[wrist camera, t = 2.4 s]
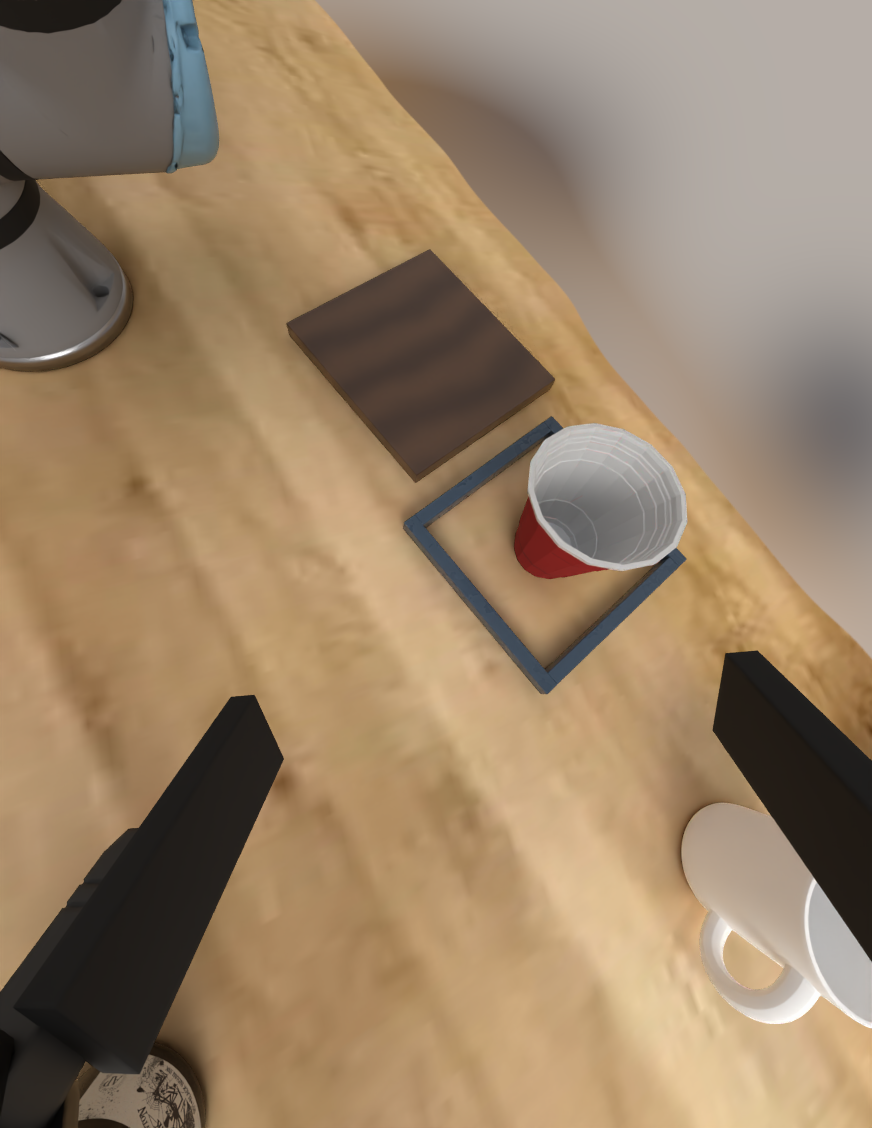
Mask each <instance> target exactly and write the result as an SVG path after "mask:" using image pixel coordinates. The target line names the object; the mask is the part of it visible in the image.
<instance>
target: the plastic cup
mask: <svg viewBox="0 0 872 1128" xmlns="http://www.w3.org/2000/svg"><path fill="white" fill-rule="evenodd" d="M527 493H528V499H527V502H526V504H525V507H524V510H523V513H522V515H521V518H520V522H519V527H518V529H517V532H516V535H515V543H514V549H515V553H516V557H517V560H518V561H519V563H520V564H521V565H522V567H523V568H524V569H525V570H526V571H528V572H529V573H531V574H532V575H534V576H537V577H542V578H546V579H553V578H558V577H568V576H573V575H578V574H583V573H588V572H592V571H601V570H608V569H612V570H617V571H624V570H629V569H634V568H639V567H644V566H649V565H654V564H656V563H657V562H658V561H660V560H661V559H662V558H664V557H665V556H666V555H667V554H669V553H670V552H671V551H672V550H674V549H675V548H676V547H677V545H678V543H679V541H680V538H681V536H682V534H683V531H684V529H685V526H686V524H687V510H686V494H685V492H684V490H683V488H682V486H681V484H680V481H679V479H678V477H677V475H676V473H675V471H674V469H673V467H672V466H671V465H670V464H669V463H668V462H667V461H666V460H665V459H664V458H663V457H662V455H661V454H660V453H659V452H658V451H657V450H656V449H655V448H654V447H653V446H652V445H651V444H649V443H647V442H645V441H644V440H642V439H640V438H638V437H637V436H635V435H633V434H631V433H629V432H628V431H626V430H624V429H620V428H615V427H610V426H606V425H601V424H597V423H592V424H584V425H576V426H568V427H566V428H564V429H562V430H561V431H559V432H557V433H555V434H554V435H552V436H550V437H549V438H547V439H545V440H544V441H543V443H542V445H541V446H540V448H539V449H538V451H537V452H536V454H535V455H534V457H533V458H532V460H531V462H530V472H529V482H528V492H527Z"/></svg>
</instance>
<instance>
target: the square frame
mask: <svg viewBox="0 0 872 1128" xmlns="http://www.w3.org/2000/svg"><path fill="white" fill-rule="evenodd" d="M562 429H563V427H562V426H561V425H560V424H559V423H558V422H557V421H556V420H555V419H554V418H553V417H552V416H551V417H550V418H548V419H547V420H545V421H544V422H543V423H541V424H540V425H538V426H537V427H536V428H534V429H533V430H531V431H530V432H529V433H527V434H526V435H525V436H523V437H522V438H520V439H519V440H518V441H516V442H515V443H513V444H512V445H511V446H509V447H508V448H506V449H505V450H504V451H502V452H501V453H500V454H498V455H497V456H495V457H494V458H493V459H491V460H490V461H488V462H487V463H486V464H484V465H483V466H482V467H480V468H479V469H477V470H476V471H475V472H473V473H472V474H470V475H469V476H468V477H466V478H465V479H463V480H462V481H461V482H459V483H458V484H457V485H455V486H454V487H452V488H451V489H450V490H448V491H447V492H445V493H444V494H443V495H441V496H440V497H439V498H437V499H436V500H434V501H433V502H432V503H430V504H429V505H427V506H426V507H425V508H423V509H422V510H421V511H419V512H418V513H416V514H415V515H414V516H412V517H411V518H409V519H408V520H407V521H405V522H404V526H403V529H404V530H405V531H406V532H407V534H408V535H409V536H410V537H411V538H412V540H413V541H414V542H415V543H416V545H417V546H418V547H419V548H420V549H421V551H422V552H423V553H424V554H425V555H426V557H427V558H428V559H429V560H430V561H431V563H432V564H433V565H434V566H435V567H436V569H437V570H438V571H439V572H440V573H441V575H442V576H443V577H444V578H445V579H446V581H447V582H448V583H449V584H450V585H451V587H452V588H453V589H454V590H455V591H456V593H457V594H458V595H459V596H460V597H461V599H462V600H463V601H464V602H465V603H466V605H467V606H468V607H469V608H470V609H471V611H472V612H473V613H474V614H475V615H476V617H477V618H478V619H479V620H480V621H481V623H482V624H483V625H484V626H485V627H486V629H487V630H488V631H489V632H490V633H491V635H492V636H493V637H494V638H495V639H496V641H497V642H498V643H499V644H500V646H501V647H502V648H503V649H504V650H505V652H506V653H507V654H508V655H509V656H510V658H511V659H512V660H513V661H514V662H515V664H516V665H517V666H518V667H519V668H520V670H521V671H522V672H523V673H524V674H525V676H526V677H527V678H528V679H529V680H530V682H531V683H532V684H533V685H534V686H535V688H536V689H537V690H538V691H539V692H540V693H541V694H548V693H549V692H550V691H551V690H552V689H553V688H554V687H555V686H556V685H557V684H558V683H559V682H560V681H561V680H562V679H563V678H564V677H565V676H567V675H568V674H569V673H570V672H571V671H572V670H573V669H574V668H575V667H576V666H577V665H578V664H579V663H580V662H581V661H582V660H583V659H584V658H585V657H586V656H587V655H588V654H589V653H590V652H591V651H592V650H593V649H594V648H595V647H596V646H598V645H599V644H600V643H601V642H602V641H603V640H604V639H605V638H606V637H607V636H608V635H609V634H610V633H611V632H612V631H613V630H614V629H615V628H616V627H617V626H618V625H619V624H620V623H621V622H622V621H623V620H624V619H625V618H626V617H628V616H629V615H630V614H631V613H632V612H633V611H634V610H635V609H636V608H637V607H638V606H639V605H640V604H641V603H642V602H643V601H644V600H645V599H646V598H647V597H648V596H649V595H650V594H651V593H652V592H653V591H654V590H655V589H656V588H658V587H659V586H660V585H661V584H662V583H663V582H664V581H665V580H666V579H667V578H668V577H669V576H670V575H671V574H672V573H673V572H674V571H675V570H676V569H677V568H678V567H679V566H680V565H681V564H682V563H683V562H684V561H685V560H686V558H685V557H684V556H683V554H682V553H681V552H680V551H679V550H678V549H677V548H675V549H674V550H672V551H671V552H670V553H669V554H667V555H666V556H665V557H664V558H662V559H661V560H660V561H659V562H658V563H657V564H656V565H655V566H654V567H653V568H652V569H651V570H650V571H649V572H648V573H647V574H646V575H645V576H643V577H642V578H641V579H640V580H639V581H638V582H637V583H636V584H635V585H634V586H633V587H632V588H631V589H630V590H629V591H628V592H627V593H625V594H624V595H623V596H622V597H621V598H620V599H619V600H618V601H617V602H616V603H615V604H614V605H613V606H612V607H611V608H610V609H608V610H607V611H606V612H605V613H604V614H603V615H602V616H601V617H600V618H599V619H598V620H597V621H596V622H595V623H594V624H593V625H592V626H590V627H589V628H588V629H587V630H586V631H585V632H584V633H583V634H582V635H581V636H580V637H579V638H578V639H577V640H576V641H575V642H573V643H572V644H571V645H570V646H569V647H568V648H567V649H566V650H565V651H564V652H563V653H562V654H561V655H560V656H559V657H558V658H557V659H555V660H554V661H553V662H552V663H551V664H550V665H549V666H548V667H547V668H546V669H544V668H543V667H542V666H541V665H540V663H539V662H538V661H537V660H536V659H535V657H534V656H533V655H532V654H531V653H530V652H529V650H528V649H527V648H526V647H525V646H524V644H523V643H522V642H521V641H520V640H519V638H518V637H517V636H516V635H515V634H514V633H513V631H512V630H511V629H510V628H509V627H508V625H507V624H506V623H505V622H504V621H503V619H502V618H501V617H500V616H499V615H498V613H497V612H496V611H495V610H494V609H493V608H492V606H491V605H490V604H489V603H488V602H487V600H486V599H485V598H484V597H483V596H482V594H481V593H480V592H479V591H478V590H477V589H476V587H475V586H474V585H473V584H472V583H471V581H470V580H469V579H468V578H467V577H466V575H465V574H464V573H463V572H462V571H461V570H460V568H459V567H458V566H457V565H456V564H455V562H454V561H453V560H452V559H451V558H450V556H449V555H448V554H447V553H446V552H445V551H444V549H443V548H442V547H441V546H440V545H439V543H438V542H437V541H436V540H435V539H434V537H433V536H432V535H431V534H430V533H429V532H428V530H427V529H426V527H428V526H429V525H430V524H432V523H433V522H434V521H436V520H437V519H438V518H440V517H441V516H442V515H444V514H445V513H446V512H448V511H449V510H451V509H452V508H453V507H455V506H456V505H457V504H459V503H460V502H461V501H463V500H464V499H465V498H467V497H468V496H470V495H471V494H472V493H474V492H475V491H476V490H478V489H479V488H480V487H482V486H483V485H484V484H486V483H487V482H488V481H490V480H491V479H493V478H494V477H495V476H497V475H498V474H499V473H501V472H502V471H503V470H505V469H506V468H507V467H509V466H510V465H512V464H513V463H514V462H516V461H517V460H518V459H520V458H521V457H522V456H524V455H525V454H526V453H528V452H529V451H530V450H532V449H533V448H535V447H536V446H537V445H539V444H540V443H541V442H543V441H544V440H545V439H547V438H549V437H550V436H552V435H554V434H555V433H557V432H559V431H561V430H562Z"/></svg>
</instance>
